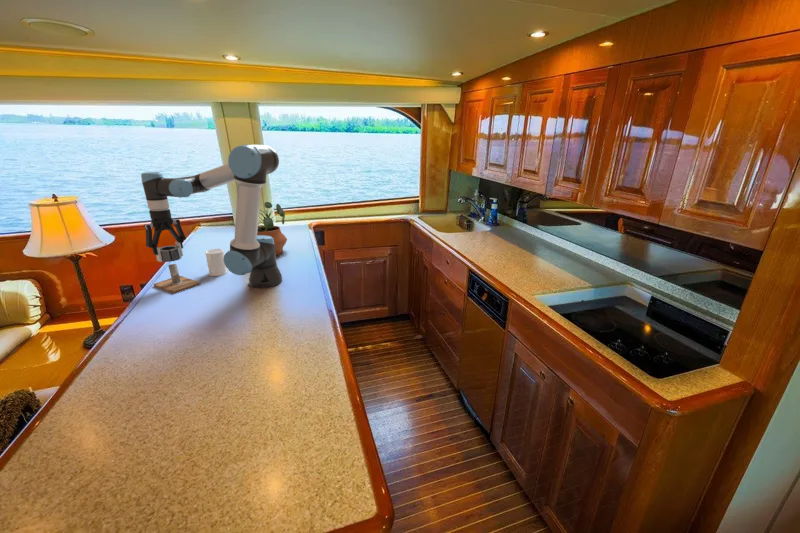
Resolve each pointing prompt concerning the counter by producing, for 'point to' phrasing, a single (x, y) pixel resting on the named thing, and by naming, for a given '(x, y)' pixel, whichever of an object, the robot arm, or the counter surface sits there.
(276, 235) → the potted plant
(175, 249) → the ring
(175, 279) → the post block
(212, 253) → the mug
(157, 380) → the counter surface
